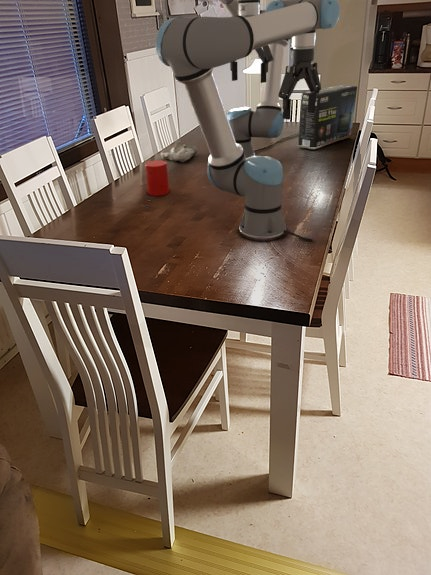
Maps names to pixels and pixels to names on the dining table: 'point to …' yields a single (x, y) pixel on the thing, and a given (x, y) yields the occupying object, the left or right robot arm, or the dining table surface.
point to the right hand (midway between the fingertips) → (299, 115)
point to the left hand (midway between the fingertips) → (248, 81)
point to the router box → (327, 115)
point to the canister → (157, 177)
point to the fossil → (179, 152)
